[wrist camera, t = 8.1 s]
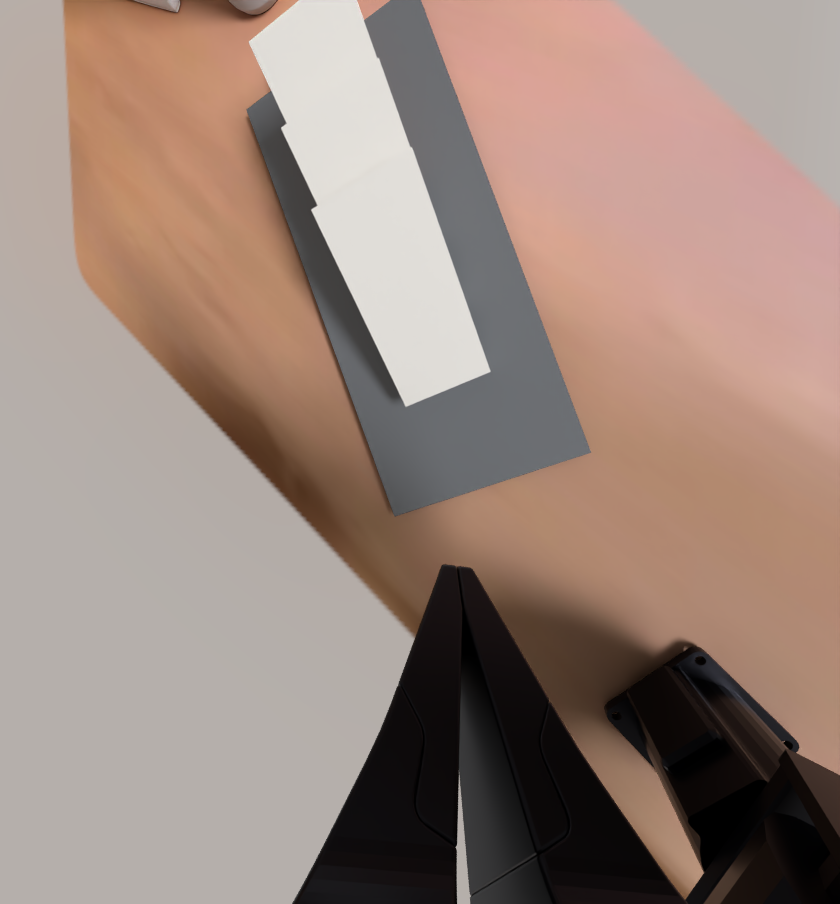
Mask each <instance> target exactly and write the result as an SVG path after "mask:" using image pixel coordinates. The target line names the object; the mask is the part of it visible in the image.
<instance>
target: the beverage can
mask: <svg viewBox="0 0 840 904" xmlns="http://www.w3.org/2000/svg"><path fill="white" fill-rule="evenodd" d="M276 1H277V0H229V2H230V3H231V4H233V5H234V6H235V7H236V8H237V9H239V10H241V11H243V12H245V13H248V14H250V15H258V14H260V13H263V12H265V11H266V10H268V9H269V8H270V7H272V6H273V4H274V3H275V2H276Z"/></svg>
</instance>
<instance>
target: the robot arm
mask: <svg viewBox="0 0 840 904" xmlns="http://www.w3.org/2000/svg"><path fill="white" fill-rule="evenodd" d="M698 656H701V658H700V659H699V660H695V658H696V657H698ZM548 702H549V699H548V697H547V695H546V693H545V692H544V690H543V688H542V686H541V685H540V683H539V681H538V680H537V678H536V676H535V675H534V673H533V671H532V669H531V668H530V666H529V664H528V663H527V661H526V659H525V658H524V656H523V654H522V652H521V651H520V649H519V647H518V646H517V644H516V642H515V641H514V639H513V637H512V635H511V634H510V632H509V630H508V629H507V627H506V625H505V623H504V622H503V620H502V618H501V617H500V615H499V613H498V612H497V610H496V608H495V606H494V605H493V603H492V601H491V600H490V598H489V596H488V595H487V593H486V591H485V589H484V588H483V586H482V584H481V583H480V581H479V579H478V578H477V576H476V574H475V572H474V571H473V569H471V568H469V567H461V566H458V567H457V568H456V566H453V565H445V564H443V565H442V566H441V569H440V571H439V574H438V577H437V580H436V582H435V585H434V588H433V591H432V593H431V596H430V599H429V602H428V604H427V607H426V610H425V612H424V615H423V618H422V621H421V623H420V626H419V629H418V632H417V634H416V637H415V640H414V643H413V645H412V648H411V651H410V654H409V656H408V659H407V662H406V664H405V667H404V670H403V673H402V675H401V678H400V681H399V684H398V687H397V688H396V691H395V694H394V697H393V700H392V702H391V705H390V707H389V710H388V712H387V715H386V718H385V720H384V722H383V725H382V727H381V730H380V732H379V734H378V736H377V738H376V740H375V743H374V745H373V747H372V749H371V751H370V753H369V755H368V758H367V760H366V762H365V764H364V766H363V768H362V770H361V772H360V774H359V776H358V778H357V780H356V782H355V784H354V786H353V788H352V790H351V792H350V794H349V796H348V798H347V800H346V802H345V804H344V806H343V808H342V810H341V812H340V814H339V816H338V818H337V820H336V822H335V824H334V825H333V828H332V829H331V831H330V834H329V835H328V838H327V839H326V841H325V843H324V846H323V847H322V849H321V851H320V853H319V855H318V857H317V859H316V861H315V863H314V865H313V867H312V868H311V870H310V872H309V874H308V876H307V878H306V880H305V882H304V884H303V885H302V887H301V889H300V891H299V892H298V894H297V896H296V898H295V900H294V901H293V903H292V904H457V881H456V879H457V877H456V874H457V871H456V869H457V866H456V863H457V858H456V857H457V850H456V848H455V847H456V846H457V822H458V784H459V774H460V786H461V797H462V809H463V821H464V831H465V844H466V855H467V867H468V879H469V890H470V895H471V897H470V904H840V775H838V774H836V773H834V772H832V771H830V770H828V769H826V768H824V767H822V766H820V765H818V764H817V763H815V762H813V761H811V760H809V759H807V758H805V757H803V756H801V755H799V754H797V753H796V752H797V751H798V749H799V744H798V742H797V741H796V740H795V739H794V738H793V737H792V736H791V735H790V734H789V733H788V732H787V731H786V730H785V729H784V728H783V727H782V726H781V725H780V724H779V723H778V722H777V721H776V720H775V719H774V718H773V717H772V716H771V715H770V714H769V713H768V712H767V711H766V710H765V709H764V708H763V707H762V706H761V705H760V704H759V703H758V702H757V701H756V700H755V699H754V698H753V697H751V696H750V695H749V694H748V693H747V692H746V691H745V690H744V689H743V688H742V687H741V686H740V685H739V684H738V683H737V682H736V681H735V680H734V679H733V678H732V677H731V676H730V675H729V674H728V673H727V672H726V671H725V670H724V669H723V668H722V667H721V666H720V665H719V664H718V663H717V662H716V661H715V660H714V659H712V658H711V657H710V656H709V655H708V654H707V653H706V652H705V651H704V650H703V649H702V648H699V647H691V648H688V649H687V650H685V651H684V652H682V653H681V654H679V655H678V656H676V657H675V658H673V659H672V660H671V661H669V662H668V663H666V664H665V665H663V666H662V667H660V668H659V669H657V670H656V671H654V672H653V673H651V674H650V675H648V676H647V677H645V678H644V679H642V680H641V681H639V682H638V683H636V684H635V685H633V686H632V687H630V688H629V689H627V690H626V691H624V692H623V693H622V694H620V695H619V696H617V697H616V698H614V699H613V700H611V701H610V702H608V703H607V704H606V705H605V708H604V709H605V713H606V716H607V718H608V719H609V721H610V722H611V723H612V724H613V725H614V726H615V727H616V728H617V729H618V730H619V731H620V732H621V733H622V735H623V736H624V737H625V738H626V739H627V740H628V741H629V742H630V743H631V744H632V745H633V746H634V747H635V748H636V749H637V750H638V751H639V752H640V753H641V755H642V756H643V757H644V758H645V759H646V760H647V761H648V762H649V763H650V764H651V765H652V766H653V767H654V768H655V770H656V772H657V774H658V776H659V778H660V780H661V782H662V785H663V787H664V789H665V791H666V793H667V795H668V797H669V799H670V802H671V804H672V806H673V808H674V810H675V812H676V814H677V816H678V819H679V821H680V823H681V825H682V827H683V829H684V831H685V833H686V836H687V838H688V840H689V842H690V844H691V846H692V848H693V850H694V853H695V855H696V857H697V859H698V861H699V863H700V865H701V867H702V870H703V872H704V874H703V875H702V877H701V878H700V880H699V881H698V882H697V884H696V885H695V887H694V888H693V890H692V891H691V892H690V894H689V895H688V897H687V898H686V900H685V899H684V898H683V897H682V896H681V894H680V893H679V892H678V891H677V889H676V888H675V887H674V885H673V884H672V883H671V882H670V880H669V879H668V878H667V876H666V875H665V873H664V872H663V871H662V869H661V868H660V866H659V865H658V864H657V862H656V861H655V859H654V858H653V856H652V855H651V853H650V852H649V851H648V849H647V848H646V846H645V845H644V843H643V842H642V840H641V839H640V838H639V836H638V835H637V833H636V832H635V830H634V829H633V827H632V826H631V825H630V823H629V822H628V820H627V819H626V817H625V816H624V814H623V813H622V812H621V810H620V809H619V807H618V806H617V804H616V803H615V801H614V800H613V799H612V797H611V796H610V794H609V793H608V791H607V790H606V788H605V787H604V786H603V784H602V783H601V781H600V780H599V778H598V777H597V775H596V774H595V772H594V771H593V769H592V768H591V766H590V765H589V763H588V762H587V760H586V759H585V757H584V756H583V754H582V753H581V751H580V750H579V748H578V747H577V745H576V743H575V742H574V740H573V738H572V737H571V735H570V734H569V732H568V730H567V729H566V727H565V725H564V724H563V722H562V720H561V719H560V717H559V715H558V714H557V712H556V710H555V708H554V707H553V705H552V703H550V702H549V703H548ZM613 712H618V714H612V713H613ZM782 741H785V742H782Z"/></svg>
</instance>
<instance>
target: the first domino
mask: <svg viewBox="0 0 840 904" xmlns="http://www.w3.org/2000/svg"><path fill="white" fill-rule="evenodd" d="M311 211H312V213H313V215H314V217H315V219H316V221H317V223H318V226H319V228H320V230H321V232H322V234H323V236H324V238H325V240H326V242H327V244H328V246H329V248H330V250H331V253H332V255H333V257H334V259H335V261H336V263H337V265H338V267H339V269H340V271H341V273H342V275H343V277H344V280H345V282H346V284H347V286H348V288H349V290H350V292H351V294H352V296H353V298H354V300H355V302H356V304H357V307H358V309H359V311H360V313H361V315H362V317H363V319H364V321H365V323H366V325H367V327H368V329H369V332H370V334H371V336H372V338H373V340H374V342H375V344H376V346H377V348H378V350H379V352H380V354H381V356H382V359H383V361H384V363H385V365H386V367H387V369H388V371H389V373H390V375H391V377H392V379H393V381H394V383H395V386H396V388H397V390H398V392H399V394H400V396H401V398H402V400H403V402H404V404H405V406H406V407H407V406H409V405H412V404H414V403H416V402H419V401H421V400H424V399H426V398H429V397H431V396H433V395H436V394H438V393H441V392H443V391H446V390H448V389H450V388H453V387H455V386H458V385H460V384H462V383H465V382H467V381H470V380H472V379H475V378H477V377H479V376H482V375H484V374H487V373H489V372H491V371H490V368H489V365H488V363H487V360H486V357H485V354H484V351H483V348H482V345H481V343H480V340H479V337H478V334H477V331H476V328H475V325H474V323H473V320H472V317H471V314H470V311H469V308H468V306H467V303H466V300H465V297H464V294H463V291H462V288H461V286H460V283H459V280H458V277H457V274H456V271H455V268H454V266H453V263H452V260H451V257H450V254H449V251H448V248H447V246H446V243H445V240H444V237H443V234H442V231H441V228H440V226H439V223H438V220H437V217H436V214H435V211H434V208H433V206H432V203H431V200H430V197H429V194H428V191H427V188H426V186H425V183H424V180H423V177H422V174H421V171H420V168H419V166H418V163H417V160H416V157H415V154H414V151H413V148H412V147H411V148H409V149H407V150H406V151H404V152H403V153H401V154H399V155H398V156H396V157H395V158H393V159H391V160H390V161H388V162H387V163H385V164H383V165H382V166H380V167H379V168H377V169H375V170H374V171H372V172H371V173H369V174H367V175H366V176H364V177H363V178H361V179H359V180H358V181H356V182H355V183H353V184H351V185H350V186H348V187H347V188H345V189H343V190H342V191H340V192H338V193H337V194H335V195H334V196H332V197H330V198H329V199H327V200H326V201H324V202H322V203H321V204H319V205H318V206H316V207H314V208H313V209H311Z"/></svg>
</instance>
